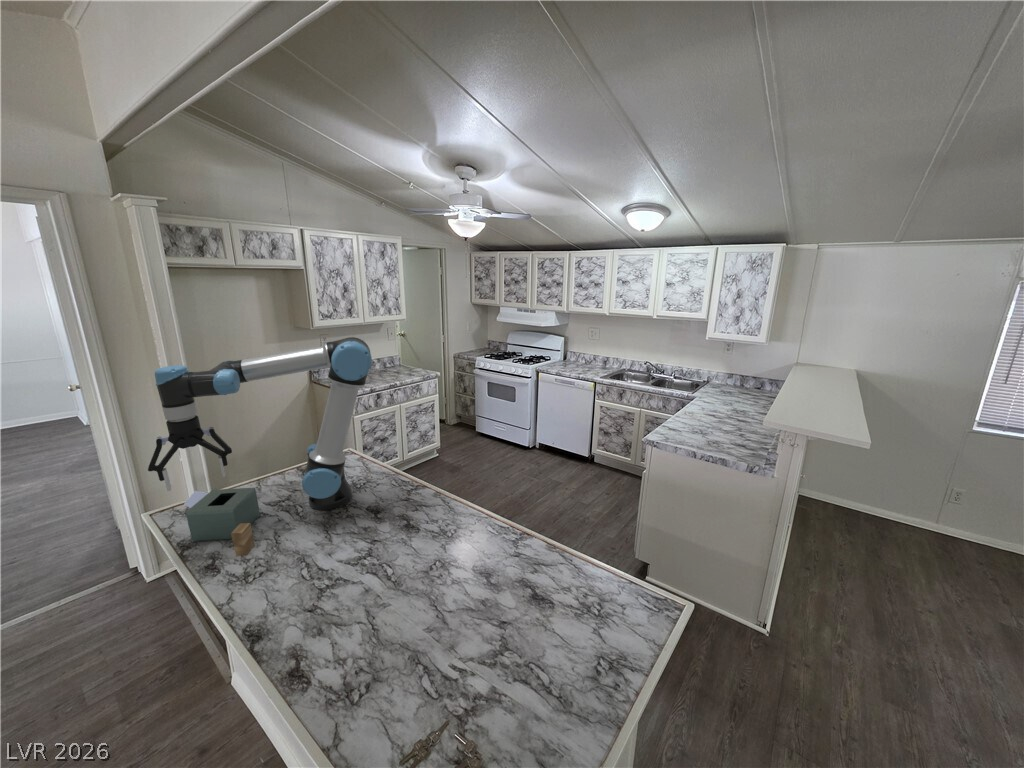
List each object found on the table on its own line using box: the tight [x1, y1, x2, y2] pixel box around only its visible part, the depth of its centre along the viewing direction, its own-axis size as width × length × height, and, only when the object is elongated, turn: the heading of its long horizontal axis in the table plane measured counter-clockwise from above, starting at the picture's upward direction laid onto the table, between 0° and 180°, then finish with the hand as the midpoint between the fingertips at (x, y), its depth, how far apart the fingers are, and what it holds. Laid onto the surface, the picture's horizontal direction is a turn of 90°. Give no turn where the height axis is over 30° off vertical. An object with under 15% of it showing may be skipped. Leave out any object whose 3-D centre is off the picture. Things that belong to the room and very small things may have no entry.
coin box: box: [185, 487, 261, 543], centre depth 135 cm, size 14×14×11 cm
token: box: [231, 523, 255, 557], centre depth 124 cm, size 3×5×8 cm, turn 6°
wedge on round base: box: [183, 490, 209, 509], centre depth 146 cm, size 9×7×13 cm
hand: (197, 482), depth 125 cm, fingers open, 13 cm apart
